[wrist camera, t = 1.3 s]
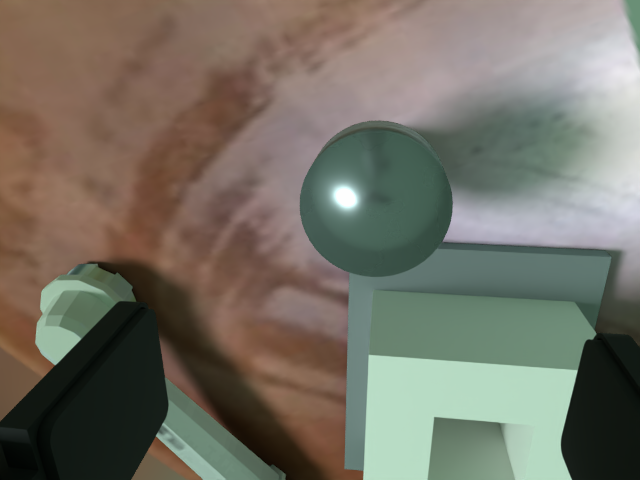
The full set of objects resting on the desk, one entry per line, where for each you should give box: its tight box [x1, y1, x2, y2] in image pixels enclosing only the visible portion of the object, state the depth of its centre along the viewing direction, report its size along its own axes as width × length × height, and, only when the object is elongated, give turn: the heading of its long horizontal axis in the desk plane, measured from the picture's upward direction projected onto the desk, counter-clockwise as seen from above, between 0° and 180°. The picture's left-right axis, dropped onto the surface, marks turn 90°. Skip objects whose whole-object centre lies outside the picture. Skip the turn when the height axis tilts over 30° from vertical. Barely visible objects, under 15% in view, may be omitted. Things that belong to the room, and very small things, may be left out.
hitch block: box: [345, 243, 612, 480], centre depth 30 cm, size 18×15×8 cm
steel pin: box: [300, 121, 453, 277], centre depth 25 cm, size 6×6×9 cm
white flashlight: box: [36, 264, 286, 480], centre depth 36 cm, size 5×7×25 cm
